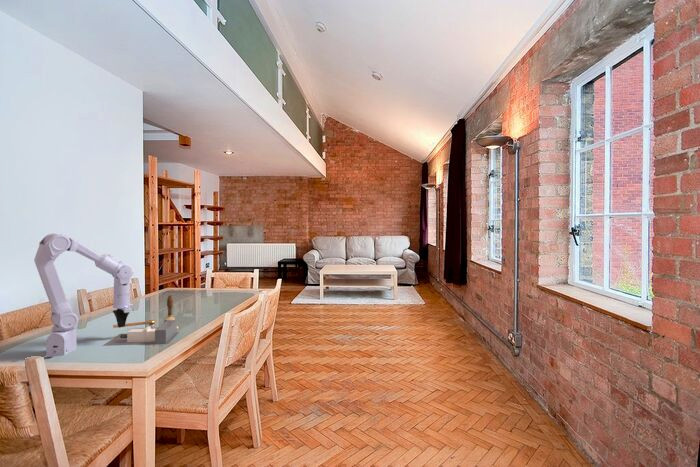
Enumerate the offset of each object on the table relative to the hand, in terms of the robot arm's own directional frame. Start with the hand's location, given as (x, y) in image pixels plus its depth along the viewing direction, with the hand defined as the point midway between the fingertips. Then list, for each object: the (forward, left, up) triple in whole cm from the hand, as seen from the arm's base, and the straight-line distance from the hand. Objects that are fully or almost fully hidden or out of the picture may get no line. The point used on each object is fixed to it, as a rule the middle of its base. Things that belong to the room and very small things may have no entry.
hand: (121, 327), depth 152 cm
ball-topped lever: (+3, -4, 0) cm, 5 cm away
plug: (-4, -10, -5) cm, 12 cm away
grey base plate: (-2, -9, -6) cm, 10 cm away
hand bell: (+13, -15, -6) cm, 21 cm away
